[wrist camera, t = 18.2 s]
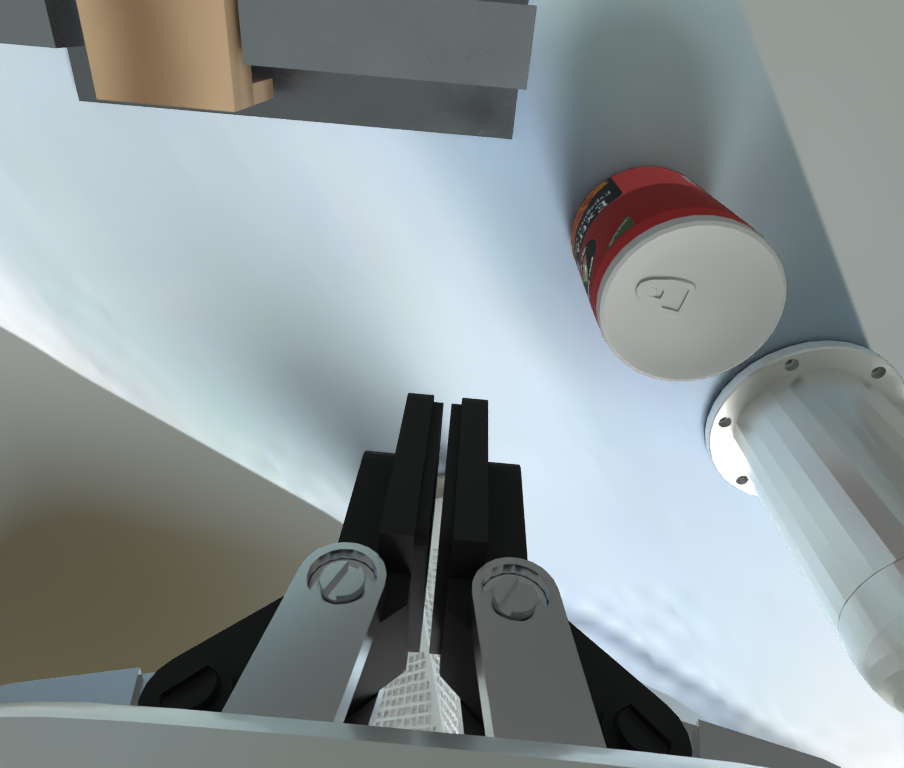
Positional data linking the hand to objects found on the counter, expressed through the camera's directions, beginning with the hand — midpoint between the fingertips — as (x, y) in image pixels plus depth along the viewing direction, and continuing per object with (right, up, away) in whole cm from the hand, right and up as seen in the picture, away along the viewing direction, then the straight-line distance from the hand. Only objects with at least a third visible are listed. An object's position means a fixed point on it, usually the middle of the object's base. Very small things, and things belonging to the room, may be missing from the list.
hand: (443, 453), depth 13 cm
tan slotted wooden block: (-12, +19, +16) cm, 28 cm away
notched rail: (-8, +20, +18) cm, 28 cm away
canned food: (+11, +11, +23) cm, 27 cm away
